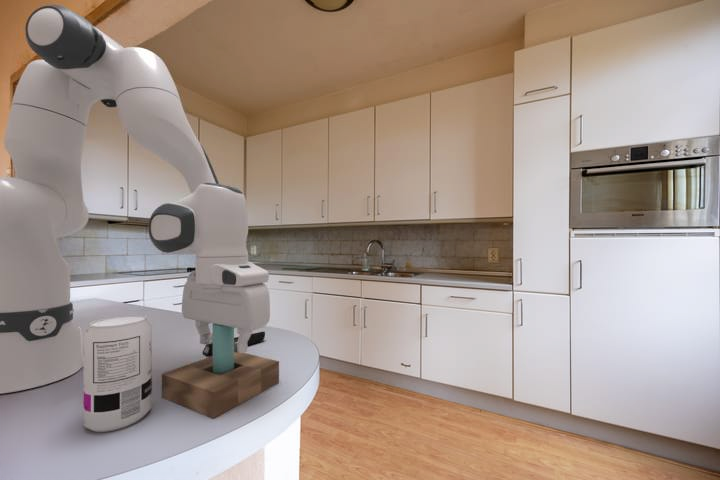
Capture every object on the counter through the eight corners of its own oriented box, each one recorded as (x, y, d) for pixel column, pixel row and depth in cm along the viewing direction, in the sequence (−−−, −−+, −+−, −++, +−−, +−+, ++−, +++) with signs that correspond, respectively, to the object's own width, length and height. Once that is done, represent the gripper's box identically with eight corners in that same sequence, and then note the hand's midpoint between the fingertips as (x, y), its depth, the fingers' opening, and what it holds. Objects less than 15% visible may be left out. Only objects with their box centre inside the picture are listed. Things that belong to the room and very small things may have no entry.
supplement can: (68, 431, 44) (68, 326, 44) (122, 402, 52) (122, 313, 53) (116, 437, 43) (116, 328, 43) (164, 406, 51) (163, 315, 51)
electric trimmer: (267, 343, 84) (268, 332, 84) (207, 358, 73) (207, 344, 73) (261, 340, 87) (261, 329, 87) (201, 354, 76) (202, 341, 76)
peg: (208, 390, 56) (208, 324, 56) (225, 383, 59) (225, 320, 60) (221, 395, 55) (221, 327, 55) (238, 387, 58) (238, 322, 58)
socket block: (161, 397, 54) (161, 374, 54) (230, 368, 66) (230, 349, 66) (213, 418, 47) (213, 392, 47) (279, 382, 60) (278, 361, 60)
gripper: (172, 271, 59) (172, 343, 59) (247, 276, 49) (247, 363, 49) (203, 268, 65) (203, 335, 65) (275, 272, 55) (276, 351, 55)
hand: (222, 347), depth 57 cm, fingers open, 8 cm apart
